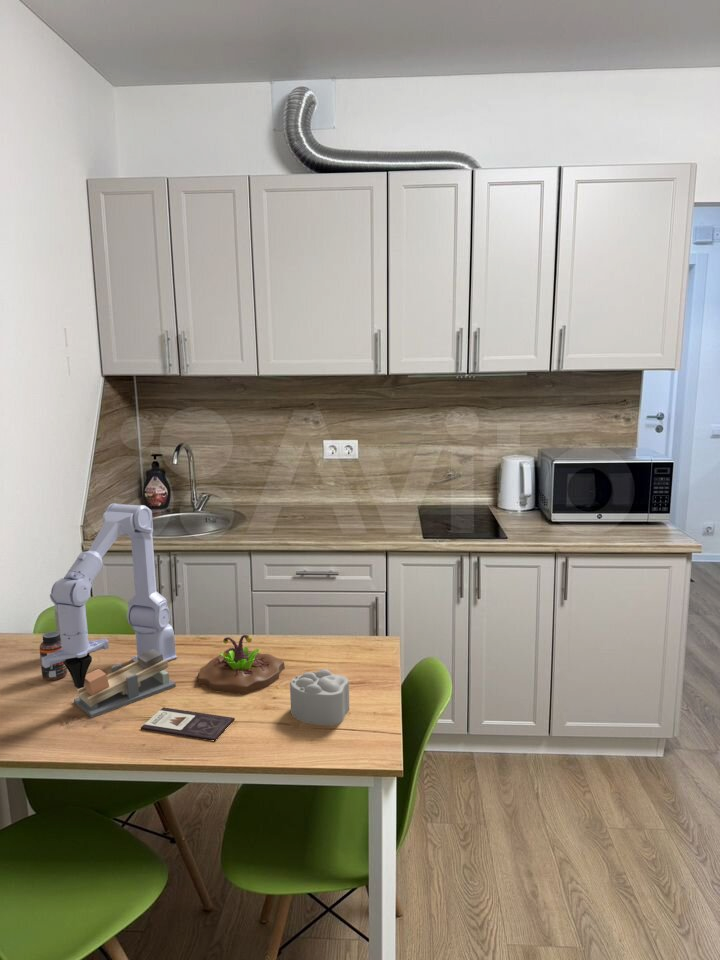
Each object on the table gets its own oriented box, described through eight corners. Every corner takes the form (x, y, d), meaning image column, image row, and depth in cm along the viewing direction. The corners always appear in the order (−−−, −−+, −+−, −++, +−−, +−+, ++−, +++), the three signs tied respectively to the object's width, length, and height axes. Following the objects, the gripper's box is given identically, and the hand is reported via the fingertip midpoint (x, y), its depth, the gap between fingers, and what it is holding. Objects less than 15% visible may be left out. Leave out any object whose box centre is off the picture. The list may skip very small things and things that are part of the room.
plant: (253, 701, 167) (251, 657, 164) (186, 686, 175) (182, 643, 172) (295, 666, 184) (293, 625, 182) (232, 653, 192) (230, 614, 190)
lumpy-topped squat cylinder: (339, 727, 154) (338, 691, 152) (283, 720, 157) (281, 684, 156) (352, 704, 164) (352, 669, 162) (299, 698, 167) (298, 663, 166)
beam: (156, 663, 179) (153, 646, 177) (169, 671, 174) (165, 654, 173) (80, 701, 166) (75, 683, 164) (91, 711, 161) (86, 692, 160)
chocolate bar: (215, 739, 149) (140, 727, 154) (215, 743, 149) (141, 731, 154) (234, 717, 158) (163, 707, 163) (234, 721, 158) (163, 711, 163)
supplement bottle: (58, 682, 177) (54, 639, 175) (37, 680, 178) (32, 638, 176) (72, 671, 182) (68, 630, 180) (52, 670, 184) (47, 628, 182)
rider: (102, 683, 168) (98, 668, 167) (110, 689, 165) (106, 674, 164) (86, 691, 165) (82, 676, 164) (93, 697, 162) (89, 682, 161)
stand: (156, 673, 181) (154, 651, 180) (175, 686, 174) (174, 663, 173) (74, 702, 167) (71, 678, 166) (91, 717, 160) (89, 693, 158)
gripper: (47, 645, 152) (53, 703, 154) (112, 626, 161) (117, 681, 164) (35, 636, 157) (41, 692, 159) (99, 618, 166) (104, 671, 169)
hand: (79, 686), depth 162 cm, fingers closed
